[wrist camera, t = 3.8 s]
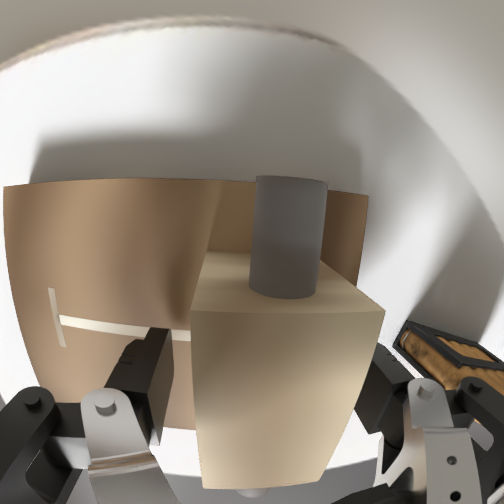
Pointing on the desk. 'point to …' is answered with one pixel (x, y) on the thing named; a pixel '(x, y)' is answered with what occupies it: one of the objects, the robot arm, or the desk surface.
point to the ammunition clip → (448, 357)
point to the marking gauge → (277, 347)
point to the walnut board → (133, 269)
